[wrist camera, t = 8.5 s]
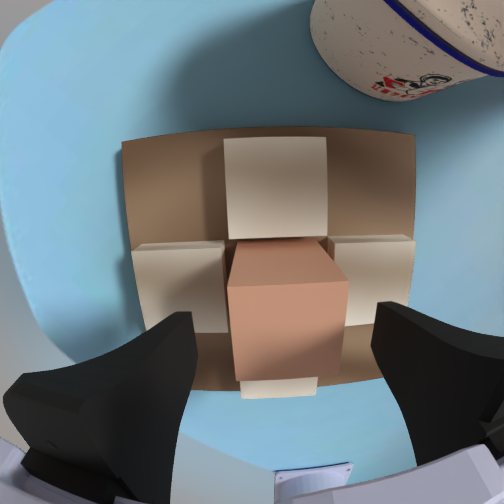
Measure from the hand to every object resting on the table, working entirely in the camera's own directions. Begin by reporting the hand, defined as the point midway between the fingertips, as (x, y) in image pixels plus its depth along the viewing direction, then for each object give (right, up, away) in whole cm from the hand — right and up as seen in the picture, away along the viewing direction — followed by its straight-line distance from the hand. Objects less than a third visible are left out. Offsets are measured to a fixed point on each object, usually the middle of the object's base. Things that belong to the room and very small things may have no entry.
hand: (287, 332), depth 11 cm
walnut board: (0, +2, +6) cm, 6 cm away
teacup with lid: (+7, +17, +2) cm, 18 cm away
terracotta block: (0, +2, +5) cm, 5 cm away
